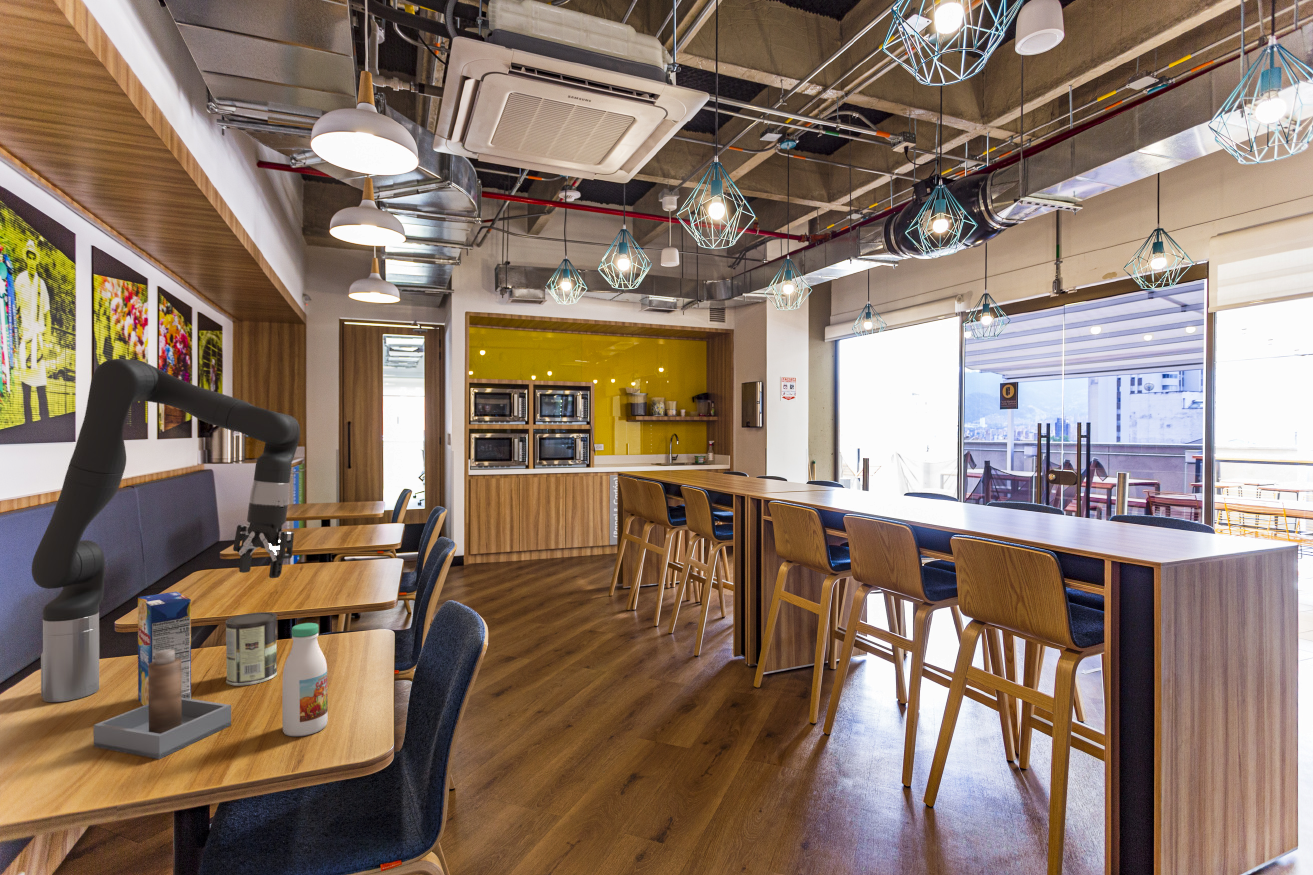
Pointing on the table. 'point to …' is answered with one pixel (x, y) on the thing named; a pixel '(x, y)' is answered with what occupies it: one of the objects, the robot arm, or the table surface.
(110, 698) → the table surface
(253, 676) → the coffee can
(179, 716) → the brown bottle
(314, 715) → the milk bottle
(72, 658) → the robot arm
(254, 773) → the table surface
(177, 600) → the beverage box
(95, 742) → the grey bin
